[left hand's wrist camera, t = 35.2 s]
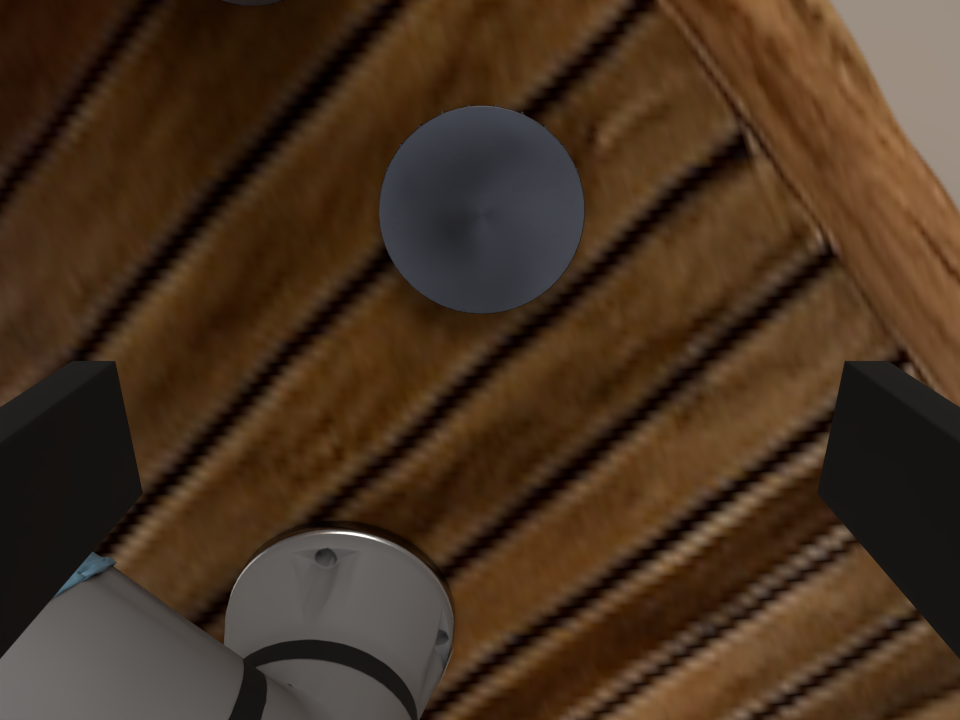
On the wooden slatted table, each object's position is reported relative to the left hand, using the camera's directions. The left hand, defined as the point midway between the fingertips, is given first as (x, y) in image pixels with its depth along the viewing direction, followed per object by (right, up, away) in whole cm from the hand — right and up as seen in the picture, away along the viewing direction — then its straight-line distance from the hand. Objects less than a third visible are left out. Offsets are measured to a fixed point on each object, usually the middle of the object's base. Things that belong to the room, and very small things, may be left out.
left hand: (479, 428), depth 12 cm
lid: (0, +9, +23) cm, 25 cm away
